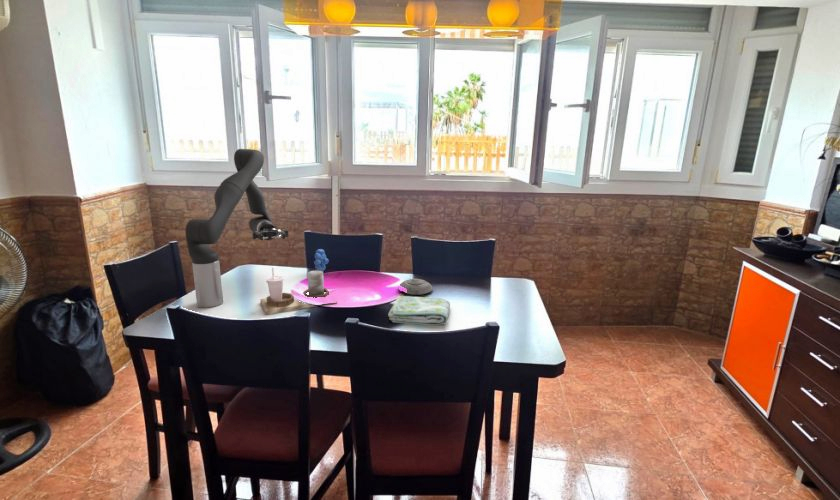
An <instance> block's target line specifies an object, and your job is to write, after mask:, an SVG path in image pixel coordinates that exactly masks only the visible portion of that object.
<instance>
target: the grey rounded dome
mask: <svg viewBox="0 0 840 500" xmlns="http://www.w3.org/2000/svg"><path fill="white" fill-rule="evenodd" d="M399 285H400V286H402V287H404V288H406V289H407V294H406V295H412V296H418V295H419V296H420V295H426V294H429V293H430V292H432V291H433V286H432V284H431V283H429V282H428V281H426V280H424V279H421V278H409V279H405V280H404V281H401V283H400V284H399Z"/></svg>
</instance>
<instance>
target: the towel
mask: <svg viewBox="0 0 840 500" xmlns="http://www.w3.org/2000/svg"><path fill="white" fill-rule="evenodd" d="M450 308H451V303H450V301H449V300H447V299H444V298H441V297H425V296H424V297H423V296H403V295H402V296H401V295H400V296H397V297H396V300H395V302H394V304H393V305H392V306H391V308H390V310H389V312H388V314H387V315H388V317H389V320H390V321H391V322H392V323H395V324H397V323H398V324H410V325H411V324H412V325H422V326H423V325H425V326H441V325H444V324H445V323H447V320H448V317H449V313H450Z"/></svg>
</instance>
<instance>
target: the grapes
mask: <svg viewBox="0 0 840 500" xmlns="http://www.w3.org/2000/svg"><path fill="white" fill-rule="evenodd" d="M314 258H315V260H314V261H313V263H314V264H313V265H315V267H314V268H315V271H322V272H323V273H324V271H325V269H326V268H327V267H326V265H328V263H330V260H329V259H328V258H327V255H326V252H325V250H324V249H323V248H320V249H319V248H318V249H316V251H315V254H314Z"/></svg>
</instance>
